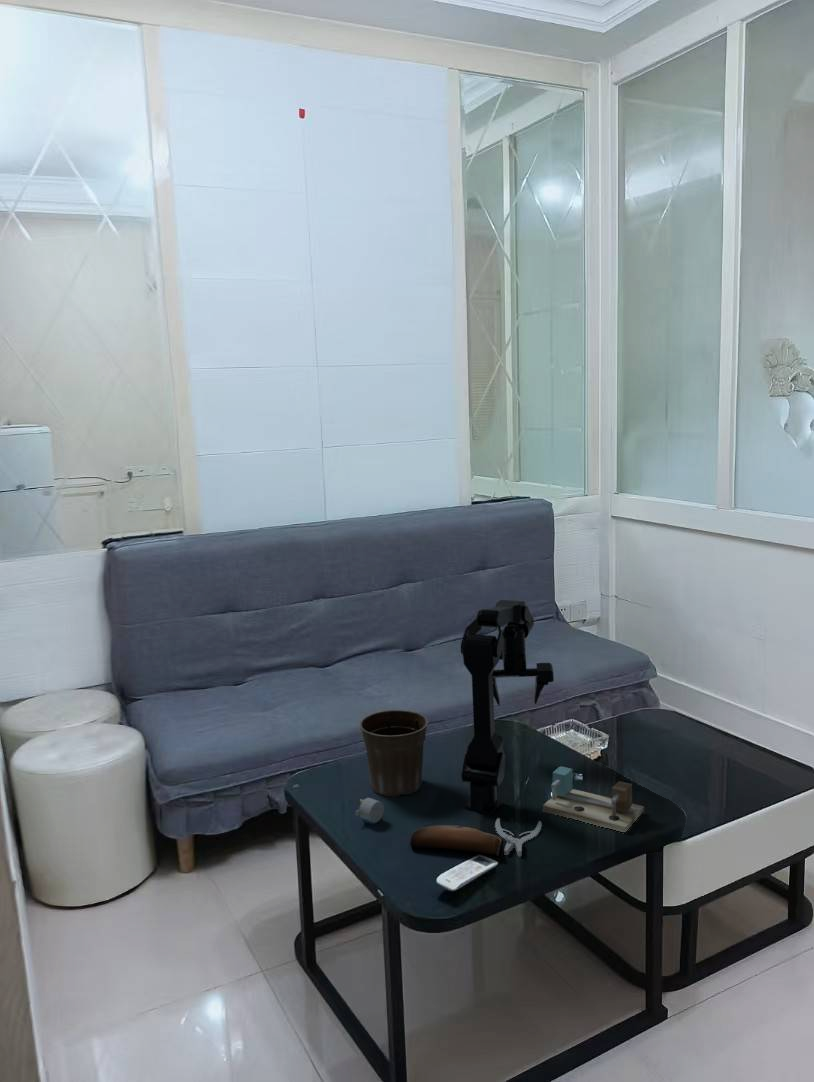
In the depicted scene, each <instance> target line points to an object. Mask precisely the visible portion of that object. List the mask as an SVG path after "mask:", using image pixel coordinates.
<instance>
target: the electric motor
mask: <svg viewBox="0 0 814 1082" xmlns="http://www.w3.org/2000/svg"><path fill="white" fill-rule="evenodd" d="M359 803H360V804H359V808H358V809H357V810H356V811H355V816H356V817H358V816H359V817H360V819H362V821H363V822H364V823H366V824H369V825H372V826H373V825H375V824H376V823H379V822H380V821H381V819H382V818H383V815H384V813H385V812H384V810H385V806H384V804H383V802H382V801H379V800H376V799H374V798H371V797H366V798H364V799H362V798H360V799H359Z"/></svg>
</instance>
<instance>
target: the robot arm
mask: <svg viewBox="0 0 814 1082" xmlns="http://www.w3.org/2000/svg"><path fill="white" fill-rule="evenodd" d="M506 624H507V625H506ZM504 625H505V626H504ZM534 625H535V619H534V618H533V616H532V614H531V611H530V610H529V606H528V605H526V602H525V601H523V600H509V599H508V600H507V599H500V600H499V601H497V602H496V603H495V606H494V607H489V608H483V609H479V610H478V612H477V614H476V618H475V619H474V620H473V621H472V622H471V623H470V624H469V625H467V627H465V628H464V629H465V630H464V631H463V636H462V638H461V639H462V640H461V643H460V653H461V655H462V660H463V661H462V662H463V666H464V668H466V670H467V671H468V672H469V674H470V675H471V686H472V687H471V689H472V690H471V691H472V713H473V718H472V719H473V738H472V740H471V741H470V743H469V744H468V745H467V750H466V753H465V754H464V757H463V764H462V769H461V770H462V771H461V780H462V782H464V783H465V782H466V783H469V788H470V789H469V791H470V793H469V794H470V800H469V801H468V802H467V803H466V804H464V808H465V809H467V810H472V811H475V812H479V813H482V814H485V815H491V814H492V813H493V812H494V811H495V810H497V809H498V808H500V806H502V805H503V804H504V803H503V800H500V799H497V797H498V795H497V794H498V792H497V791H498V790H497V789H498V787H499V786H500V785H501V783H502V782H503V781H504V778H505V769H506V768H505V767H506V753H505V752H504V740H503V739H504V738H503V736H502V735H498V734H497V732H496V727H495V726H496V725H495V704H494V703H495V702H496V703H497V705H498V706H500V705H501V701H500V694H499V693H500V692H499V689H498V684H497V679H498V678H499V679H501V678H521V677H528V678H529V677H535V682H534V696H533V700H534V702H533V703H534V705H536V704H537V703H538V700H539V697H540V695H541V693H542V691H543V689H544V687H545V686H548V685H549V683H553V682H554V668H553V665H552V663H550V662H539V663H538V662H536V668H535V667H534V668H532V667H531V668H527V652H526V639H527V638H528V636H529V634H530V633H531V631H532V629H533V628H534ZM502 626H504V627H503V628H502V629H501V627H502ZM482 628H497V632H498V633H497V634H498V635H488V634H487V635H486V634H478V632H480V631H481V630H482ZM500 660H502V666H503V669H495V668H496V667H497V665H498V663H499V662H500ZM496 678H497V679H496ZM494 699H495V702H494ZM472 770H473V771H472ZM485 772H486V773H485ZM494 773H495V774H494Z"/></svg>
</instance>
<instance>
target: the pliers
mask: <svg viewBox="0 0 814 1082" xmlns="http://www.w3.org/2000/svg"><path fill="white" fill-rule="evenodd" d="M541 827H543V824H542V821H541V820H539V821H538V822H537V824H536V827H535V828H534V829H533V830H530V831H529V830H528V831H525V832H522V833H520V834H519V835H518V838H517V837H515V835H514V833H512V831H511V830H507V829H505V828H502V826H501V818H499V817H497V818H496V820H495V823H494V829H495V828H496V829H495V832H496V831H497V832H496V834H497V833H498V834H499V835H500V836H501V837H502V838H501V837H500V836H499V835H498V834H497V835H498V836H499V837H500V838H501V839H503V838H504V839H505V840H506V841H507V842H506V841H505V840H504V839H503V840H504V841H505V842H506V844H505V846H504V850H503V851H504V852H503V853H504V854H503V856H504V855H508V856H509V854H510V853H511V852H510V851H513V850H515V851H516V853H517V856H519V857H518V858H522V857H521V856H522V854H523V853H522V852H523V845H524V844H525V843H527V842H529V841H528V840H530V841H531V839H532V840H533V838H534V837H535V838H537V836H539V834H540V833H541V831H542V828H541ZM540 830H541V831H540ZM503 831H506V832H503ZM507 832H509V833H510V834H512V835H513V836H514V837H513V836H512V835H510V834H509V833H507ZM539 832H540V833H539ZM527 833H530V834H527ZM523 834H526V835H523ZM521 835H523V836H521ZM519 836H521V837H520V838H519ZM535 838H534V839H535ZM526 841H527V842H526ZM524 842H525V843H524ZM523 843H524V844H523ZM522 844H523V845H522ZM513 848H515V849H513ZM509 852H510V853H509Z"/></svg>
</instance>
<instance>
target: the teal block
mask: <svg viewBox="0 0 814 1082" xmlns="http://www.w3.org/2000/svg"><path fill="white" fill-rule="evenodd" d="M550 787H551V798H552V800H556V794H557V795H561V796H566V795H567V794H568V793H569V792H570V791H572V789H573V768H569V767H565V766H562V765H561V766H559V767H557V768H556V769H555V770H554V771H553V772H552V783H551V785H550Z"/></svg>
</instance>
